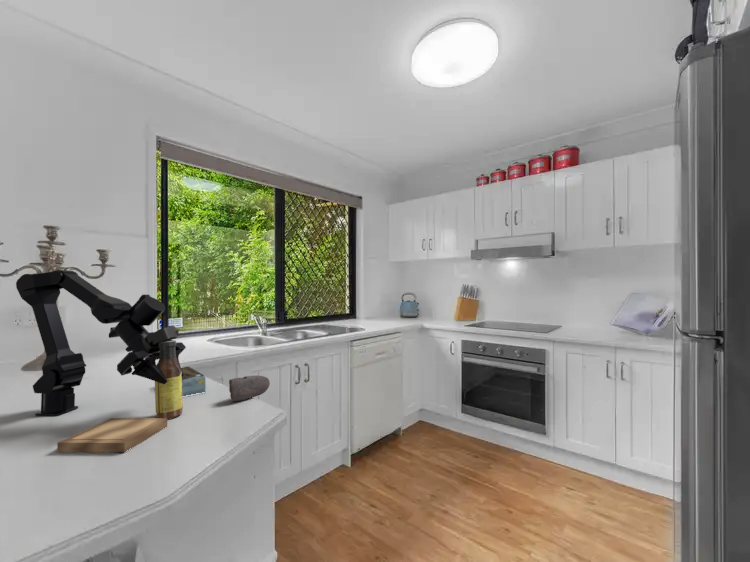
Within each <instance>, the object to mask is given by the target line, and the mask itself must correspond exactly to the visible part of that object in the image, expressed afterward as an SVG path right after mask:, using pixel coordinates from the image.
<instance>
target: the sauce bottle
mask: <svg viewBox="0 0 750 562" xmlns="http://www.w3.org/2000/svg"><path fill="white" fill-rule="evenodd" d="M176 343H177V341H176V340H175V339H172V340H167V341H162V342H159V344H158V346H159V348H160V356H159V358H160V359H158V362H157V363H156V365H157V367H158V368H159V369H160V371H161V372H162V373H163V375H164V376H165V378H166V379H167V383H166V384H161V383H159V382H156V381H154V393H155V395H154V398H155V399H154V400H155V413H156V415H155V416H156V418H167V420H168V419H173V418H177V417H179V416H181V414H183V407H184V402H183V401H184V400H183V398H184V397H182V370H181V368H182V366H181V363H180V361H179V362H178V360H177V357H176V348H175V347H176ZM179 363H180V364H179ZM180 366H181V367H180Z"/></svg>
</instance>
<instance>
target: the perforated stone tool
mask: <svg viewBox="0 0 750 562" xmlns="http://www.w3.org/2000/svg"><path fill="white" fill-rule="evenodd" d="M228 384H229V386H228V388H229V389H228V390H229V393H230V394H229V395H230V396H229V397H230V399H231V400H232V402H240V401H245V400H249V399H253V398H255V397H258V396H261V395H263V394H264V393H266V392H267V390H268V389H269V388H270V384H271V383H270V379H269V378H268V377H267V376H264V375H247V376H243V377H235V378H230V379H229V380H228ZM250 397H252V398H250ZM248 398H249V399H248Z"/></svg>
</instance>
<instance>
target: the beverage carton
mask: <svg viewBox="0 0 750 562" xmlns="http://www.w3.org/2000/svg"><path fill="white" fill-rule="evenodd" d="M181 369H182V372H183V374H184V376H183V377H182V396H186V395H191V394H196V393H202V392H205V393H206V387H207V386H206V382H207V381H206V376H205V375H204V374H202V373H201V372H199V371H197V370H195V369H194V368H193V367H191V366H185V367H184V366H183V367H182V366H181Z"/></svg>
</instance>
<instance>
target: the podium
mask: <svg viewBox="0 0 750 562" xmlns="http://www.w3.org/2000/svg"><path fill="white" fill-rule="evenodd" d="M165 427H166V428H167V427H168V419H167V418H157V417H156V418H155V417H154V418H153V417H152V418H151V417H150V418H149V417H143V418H142V417H141V418H140V417H138V418H137V417H110V418H108V419H106V420H104V421H102V422H99V423H97V424H95V425H93V426H90V427H89V428H86V429H84V430H82V431H79V432H78V433H75V434H73V435H71V436H69V437H66V438H65V439H63V440H60V441H58V442H57V445H56V446H57V448H56V449H57V450H56V451H57V452H92V453H91V454H93V453H94V454H96V453H97V454H106V453H105V452H125V453H127V452H128V451H130V450H131V449H130V448H132V447H133V448H135V447H136V446H135V445H137V444H138V445H140V444H142V443H143V442H145V441H146V440H148V439H149V437H150V438H151V437H153V436H155V435H156V434H158V433H159V432H160V430H161V431H163V430H164V429H166V428H165ZM163 428H164V429H163ZM162 429H163V430H162ZM157 432H158V433H157ZM155 433H156V434H155ZM152 435H153V436H152ZM147 438H148V439H147ZM144 440H145V441H144ZM142 441H143V442H142ZM139 443H140V444H139ZM138 445H137V446H138ZM134 446H135V447H134ZM133 448H132V449H133ZM129 449H130V450H129ZM127 450H128V451H127ZM126 451H127V452H126ZM103 452H104V453H103Z"/></svg>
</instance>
